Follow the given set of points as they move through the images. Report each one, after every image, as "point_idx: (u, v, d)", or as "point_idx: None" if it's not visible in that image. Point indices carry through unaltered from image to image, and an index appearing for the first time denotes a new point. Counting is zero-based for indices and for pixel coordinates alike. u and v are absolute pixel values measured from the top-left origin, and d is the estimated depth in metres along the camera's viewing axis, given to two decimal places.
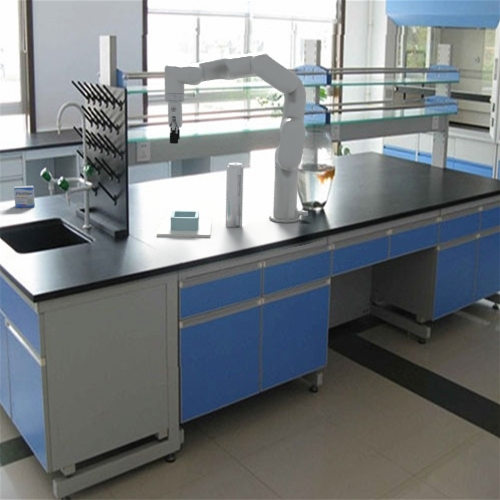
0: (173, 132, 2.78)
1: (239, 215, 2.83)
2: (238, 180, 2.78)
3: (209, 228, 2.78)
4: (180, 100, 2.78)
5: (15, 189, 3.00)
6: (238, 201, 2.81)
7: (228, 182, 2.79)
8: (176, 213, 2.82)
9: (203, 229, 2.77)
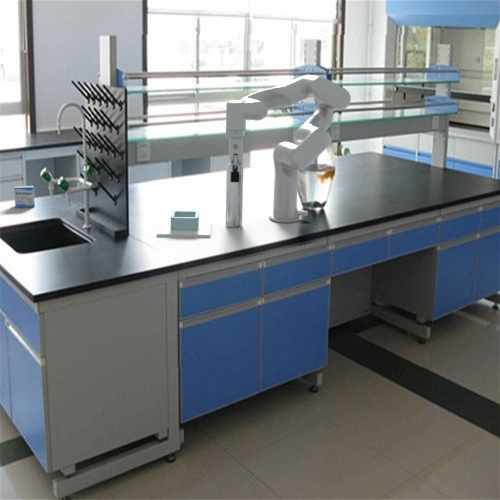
0: (235, 171, 2.74)
1: (239, 215, 2.83)
2: None
3: (209, 228, 2.78)
4: (242, 137, 2.72)
5: (15, 189, 3.00)
6: (238, 201, 2.81)
7: (228, 182, 2.79)
8: (176, 213, 2.82)
9: (203, 229, 2.77)
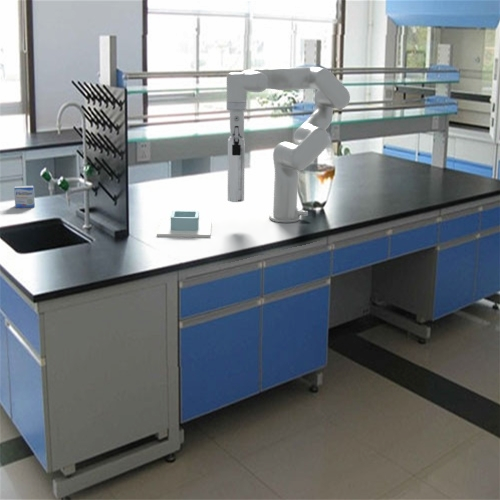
0: (236, 144, 2.71)
1: (241, 189, 2.80)
2: None
3: (209, 228, 2.78)
4: (243, 109, 2.69)
5: (15, 189, 3.00)
6: (240, 175, 2.78)
7: (229, 155, 2.76)
8: (176, 213, 2.82)
9: (203, 229, 2.77)
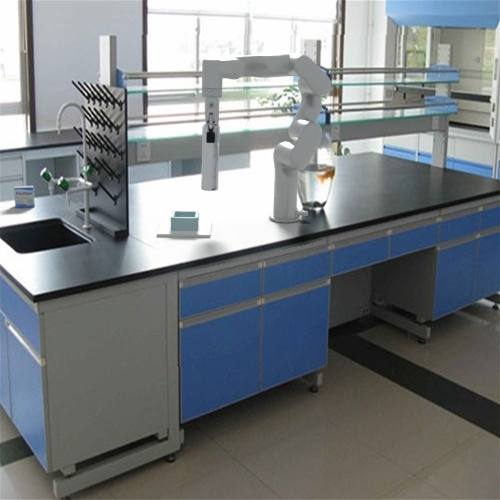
0: (210, 131, 2.66)
1: (215, 178, 2.75)
2: None
3: (209, 228, 2.78)
4: (218, 96, 2.65)
5: (15, 189, 3.00)
6: (214, 163, 2.73)
7: (204, 143, 2.71)
8: (176, 213, 2.82)
9: (203, 229, 2.77)
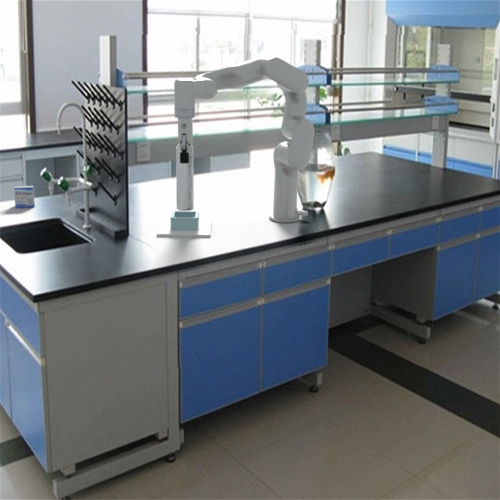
0: (183, 151, 2.65)
1: (190, 197, 2.74)
2: None
3: (209, 228, 2.78)
4: (191, 116, 2.63)
5: (15, 189, 3.00)
6: (188, 183, 2.72)
7: (178, 163, 2.70)
8: (176, 213, 2.82)
9: (203, 229, 2.77)
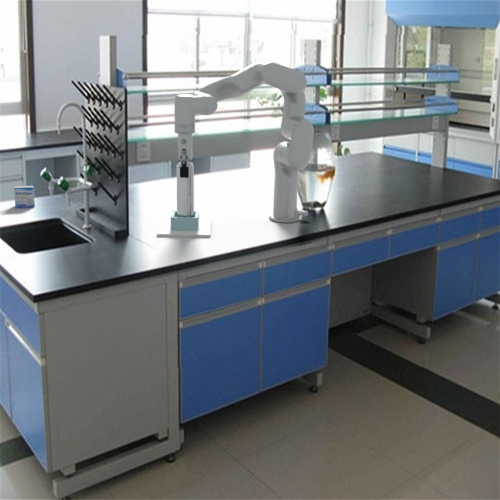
0: (183, 166, 2.66)
1: (190, 216, 2.76)
2: (188, 180, 2.72)
3: (209, 228, 2.78)
4: (191, 132, 2.65)
5: (15, 189, 3.00)
6: (189, 201, 2.74)
7: (178, 182, 2.72)
8: (176, 213, 2.82)
9: (203, 229, 2.77)
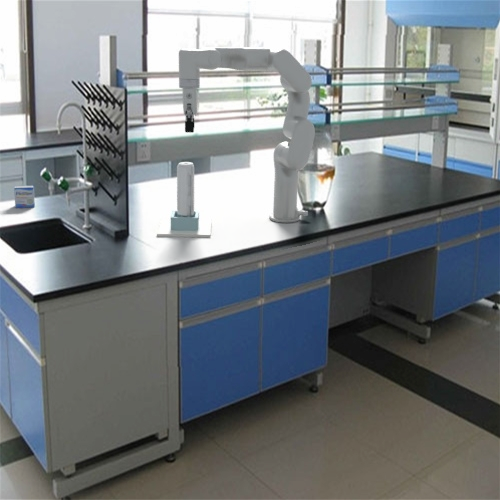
0: (189, 120, 2.64)
1: (190, 216, 2.76)
2: (189, 180, 2.72)
3: (209, 228, 2.78)
4: (195, 86, 2.63)
5: (15, 189, 3.00)
6: (189, 201, 2.74)
7: (178, 182, 2.72)
8: (176, 213, 2.82)
9: (203, 229, 2.77)
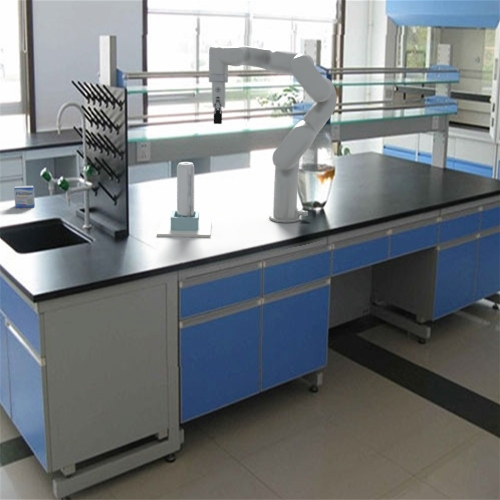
0: (217, 112, 2.83)
1: (190, 216, 2.76)
2: (189, 180, 2.72)
3: (209, 228, 2.78)
4: (224, 81, 2.82)
5: (15, 189, 3.00)
6: (189, 201, 2.74)
7: (178, 182, 2.72)
8: (176, 213, 2.82)
9: (203, 229, 2.77)
